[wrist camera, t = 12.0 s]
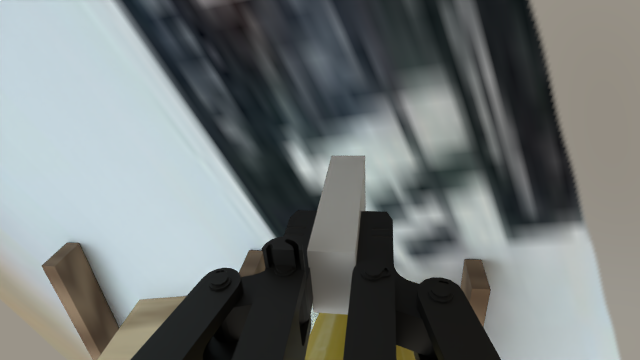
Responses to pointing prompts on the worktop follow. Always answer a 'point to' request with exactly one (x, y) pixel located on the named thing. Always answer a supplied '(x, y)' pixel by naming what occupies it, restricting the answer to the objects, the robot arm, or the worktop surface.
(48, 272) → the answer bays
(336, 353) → the plant pot
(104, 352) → the oak block
